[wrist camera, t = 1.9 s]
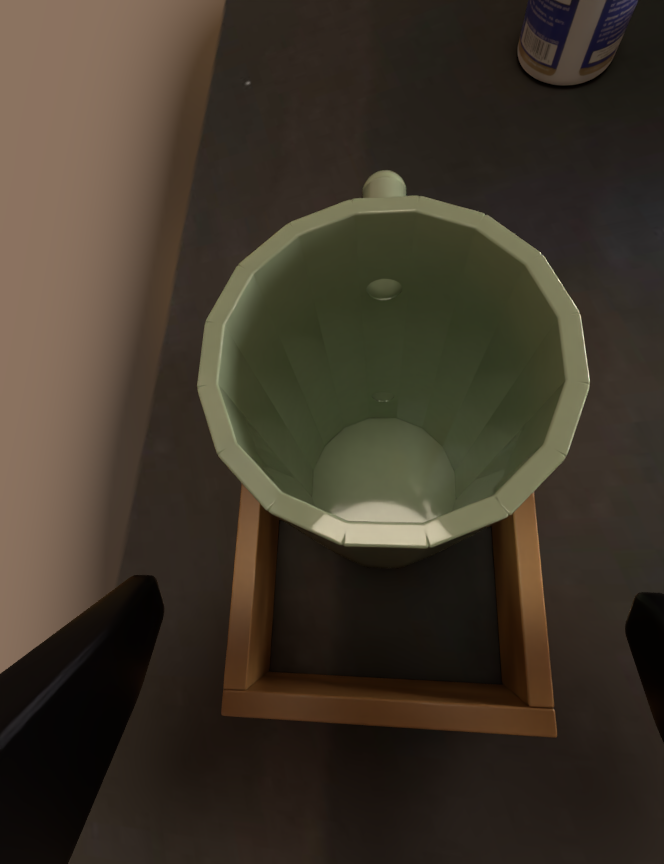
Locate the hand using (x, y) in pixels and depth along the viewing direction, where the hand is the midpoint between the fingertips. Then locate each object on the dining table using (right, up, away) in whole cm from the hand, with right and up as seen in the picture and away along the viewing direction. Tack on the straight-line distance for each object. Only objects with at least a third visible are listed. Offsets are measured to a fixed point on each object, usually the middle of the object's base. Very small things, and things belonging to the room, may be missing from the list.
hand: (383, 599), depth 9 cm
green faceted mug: (+1, +2, +12) cm, 12 cm away
